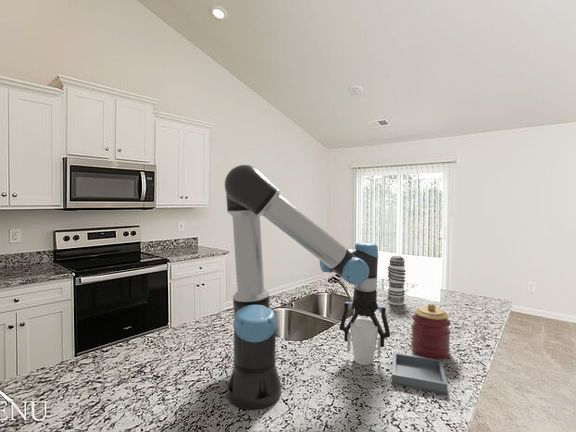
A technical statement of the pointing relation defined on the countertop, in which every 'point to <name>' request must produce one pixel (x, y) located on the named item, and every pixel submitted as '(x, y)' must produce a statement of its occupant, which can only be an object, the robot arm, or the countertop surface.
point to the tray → (419, 373)
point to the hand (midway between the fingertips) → (363, 353)
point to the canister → (431, 332)
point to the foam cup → (364, 340)
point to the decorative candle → (396, 280)
